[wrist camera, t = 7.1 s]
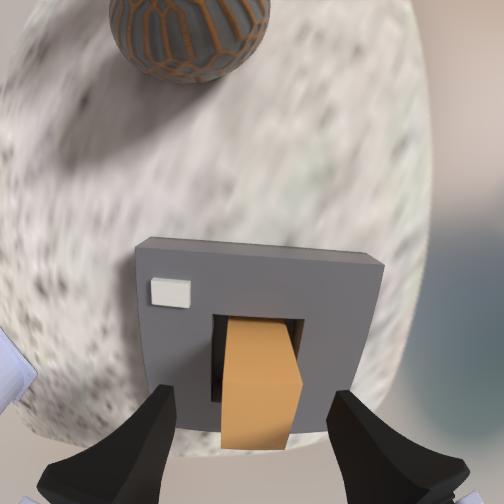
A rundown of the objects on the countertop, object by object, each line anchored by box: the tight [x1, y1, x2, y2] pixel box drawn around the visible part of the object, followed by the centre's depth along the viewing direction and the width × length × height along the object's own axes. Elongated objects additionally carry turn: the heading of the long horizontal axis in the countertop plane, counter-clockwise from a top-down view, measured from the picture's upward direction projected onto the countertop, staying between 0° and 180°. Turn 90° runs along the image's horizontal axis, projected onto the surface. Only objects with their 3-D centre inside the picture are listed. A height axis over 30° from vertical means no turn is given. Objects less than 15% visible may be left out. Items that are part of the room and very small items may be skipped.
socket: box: [135, 237, 385, 434], centre depth 15 cm, size 12×12×3 cm
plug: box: [221, 315, 303, 450], centre depth 13 cm, size 4×3×6 cm, turn 176°
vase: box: [109, 0, 271, 84], centre depth 8 cm, size 7×7×9 cm
